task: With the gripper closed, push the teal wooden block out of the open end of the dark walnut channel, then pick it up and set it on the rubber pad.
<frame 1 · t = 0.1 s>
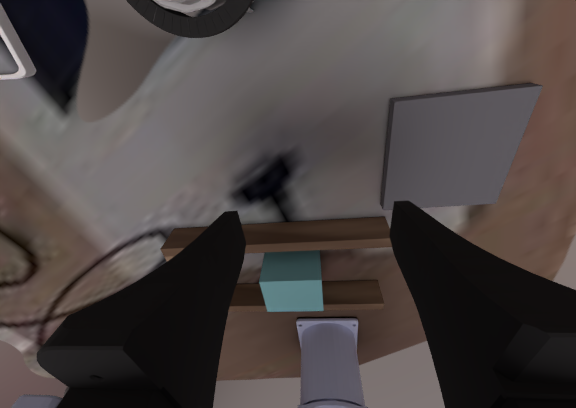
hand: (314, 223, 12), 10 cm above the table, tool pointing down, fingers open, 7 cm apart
block: (294, 257, 28), on the table
channel: (281, 258, 28), on the table
pad: (444, 152, 20), on the table
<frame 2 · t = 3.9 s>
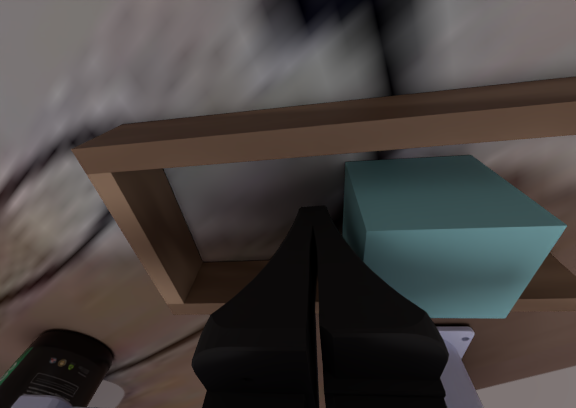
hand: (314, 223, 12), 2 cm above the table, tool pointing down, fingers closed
block: (399, 199, 13), on the table, touching gripper
channel: (355, 202, 13), on the table
supplement bottle: (80, 345, 24), on the table
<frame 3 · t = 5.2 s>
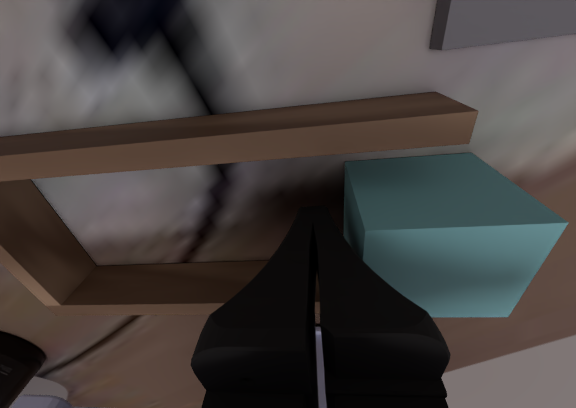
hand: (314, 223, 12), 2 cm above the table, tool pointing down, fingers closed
block: (399, 198, 13), on the table, touching gripper
channel: (214, 210, 14), on the table
supplement bottle: (12, 345, 25), on the table
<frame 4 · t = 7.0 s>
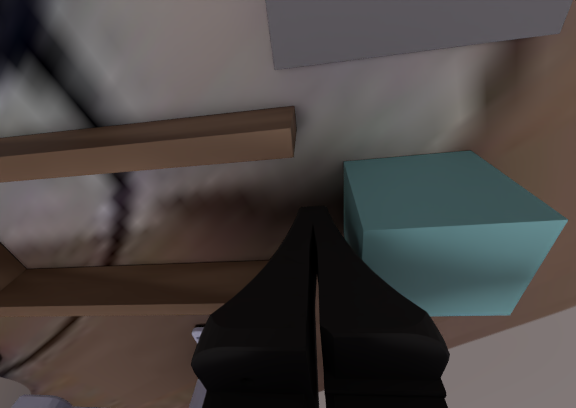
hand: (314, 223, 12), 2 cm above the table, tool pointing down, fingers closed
block: (399, 197, 13), on the table, touching gripper
channel: (121, 216, 15), on the table
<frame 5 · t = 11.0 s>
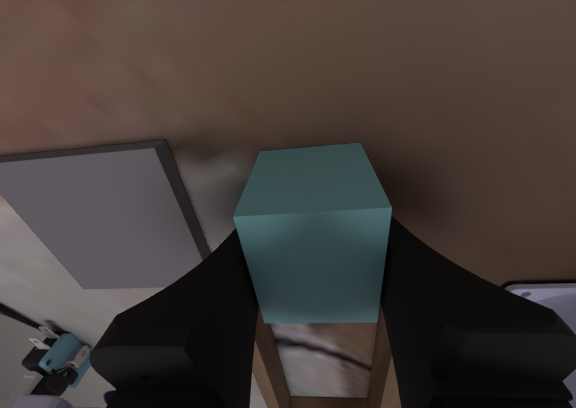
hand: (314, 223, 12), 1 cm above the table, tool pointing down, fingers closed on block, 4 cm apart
block: (312, 198, 13), on the table, touching gripper
channel: (324, 351, 21), on the table
pad: (122, 222, 15), on the table
push button: (72, 339, 23), on the table
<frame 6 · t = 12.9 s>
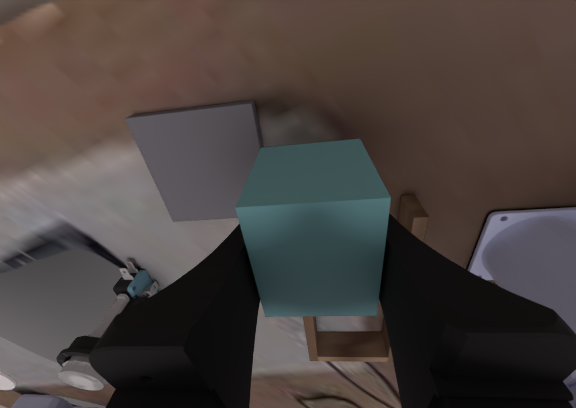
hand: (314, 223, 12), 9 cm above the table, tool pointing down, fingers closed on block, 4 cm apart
block: (313, 194, 13), point 7 cm above the table, touching gripper
channel: (349, 282, 27), on the table
pad: (210, 166, 20), on the table
push button: (144, 277, 29), on the table
when the fingers open (4 cm above the table, at t = 14.7 s): block stays where it is, resting on pad.
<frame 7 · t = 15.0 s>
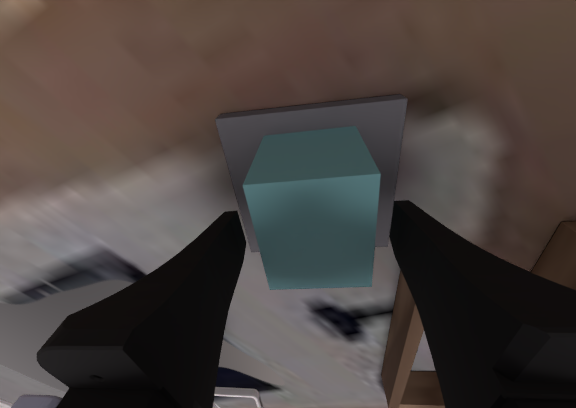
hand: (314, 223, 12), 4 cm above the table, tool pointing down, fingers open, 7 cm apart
block: (312, 180, 14), point 1 cm above the table, touching pad
phone case: (240, 403, 38), on the table
channel: (451, 320, 22), on the table
pad: (312, 182, 15), on the table
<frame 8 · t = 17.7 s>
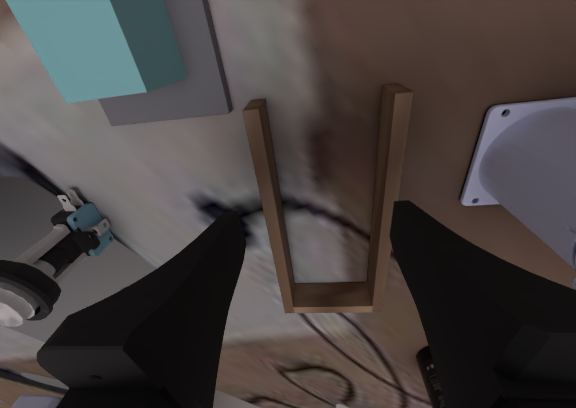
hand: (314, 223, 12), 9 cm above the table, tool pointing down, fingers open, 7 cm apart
block: (136, 32, 15), point 1 cm above the table, touching pad
channel: (327, 214, 23), on the table
pad: (149, 45, 16), on the table
supplement bottle: (440, 353, 35), on the table
push button: (94, 214, 25), on the table
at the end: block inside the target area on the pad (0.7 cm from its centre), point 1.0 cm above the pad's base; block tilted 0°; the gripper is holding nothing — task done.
